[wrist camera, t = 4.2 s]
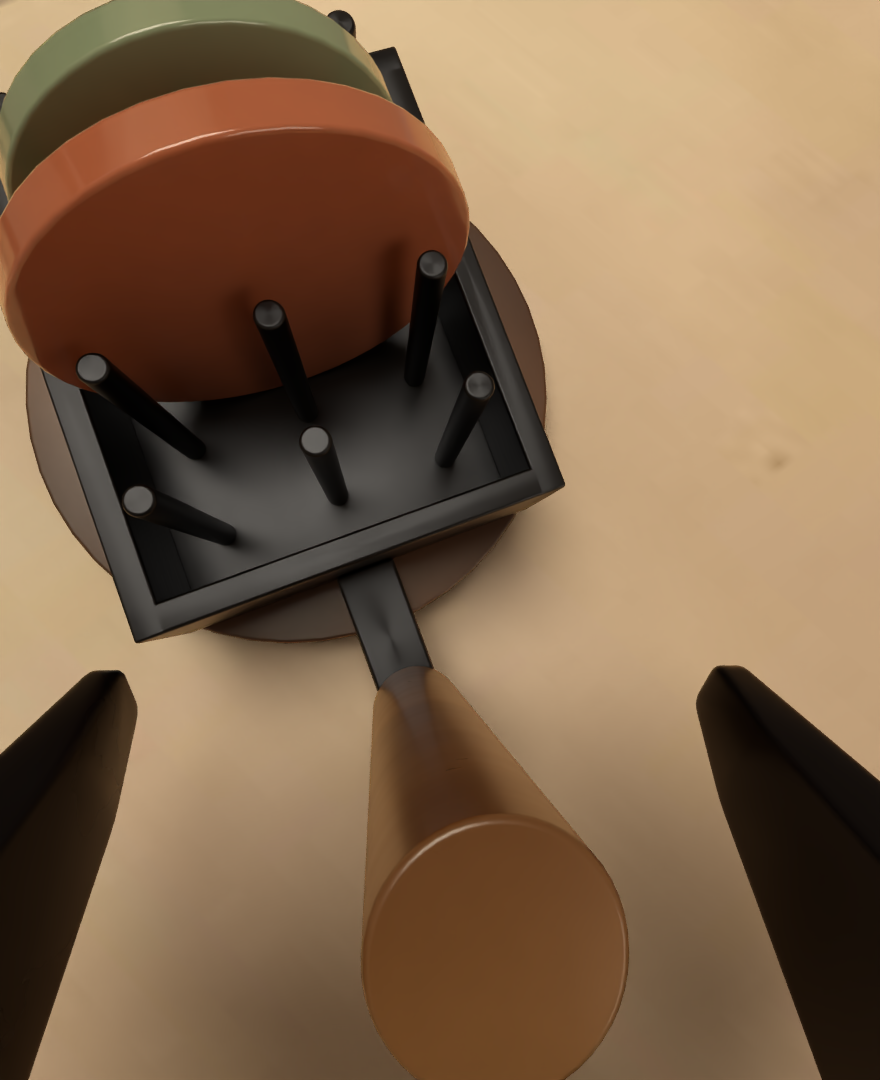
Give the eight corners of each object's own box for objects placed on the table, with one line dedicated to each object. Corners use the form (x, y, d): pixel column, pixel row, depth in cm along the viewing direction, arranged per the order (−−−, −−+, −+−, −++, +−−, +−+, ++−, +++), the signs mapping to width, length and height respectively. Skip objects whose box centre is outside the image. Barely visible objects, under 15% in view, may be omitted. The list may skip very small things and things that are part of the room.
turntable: (424, 714, 16) (428, 726, 15) (-35, 518, 15) (-79, 510, 14) (598, 302, 18) (618, 276, 16) (191, 107, 17) (173, 61, 16)
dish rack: (592, 675, 15) (1044, 844, 5) (253, 815, 14) (-93, 1422, 4) (391, 155, 16) (416, -653, 6) (54, 249, 15) (-689, -545, 4)
